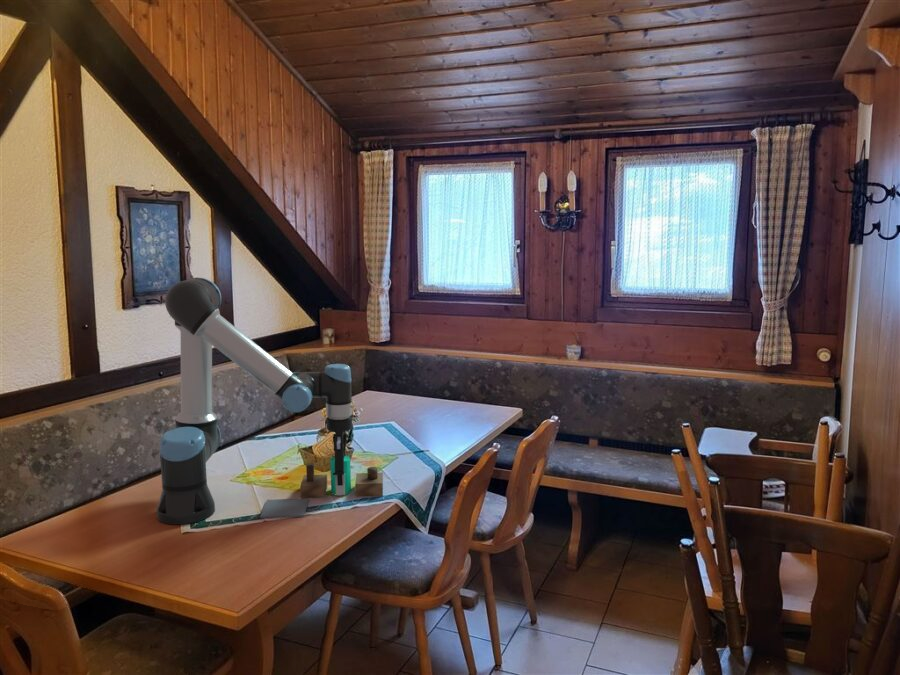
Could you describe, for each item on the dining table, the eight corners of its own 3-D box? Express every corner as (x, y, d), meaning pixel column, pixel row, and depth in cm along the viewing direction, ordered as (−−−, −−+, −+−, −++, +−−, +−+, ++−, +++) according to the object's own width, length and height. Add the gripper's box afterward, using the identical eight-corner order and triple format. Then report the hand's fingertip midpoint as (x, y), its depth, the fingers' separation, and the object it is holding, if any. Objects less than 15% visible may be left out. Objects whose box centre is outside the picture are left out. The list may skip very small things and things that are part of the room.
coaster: (260, 518, 198) (260, 516, 198) (267, 501, 210) (267, 499, 210) (304, 516, 199) (304, 514, 199) (308, 500, 211) (308, 498, 211)
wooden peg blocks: (300, 498, 212) (299, 469, 211) (304, 487, 221) (303, 459, 219) (382, 496, 214) (382, 467, 213) (382, 485, 223) (382, 457, 222)
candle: (347, 496, 214) (346, 457, 212) (328, 494, 215) (327, 456, 213) (354, 488, 220) (353, 451, 218) (335, 487, 221) (334, 449, 219)
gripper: (350, 424, 205) (352, 502, 208) (353, 407, 223) (355, 479, 227) (323, 425, 204) (326, 503, 208) (329, 408, 223) (331, 479, 226)
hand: (341, 490), depth 217 cm, fingers closed on candle, 6 cm apart
